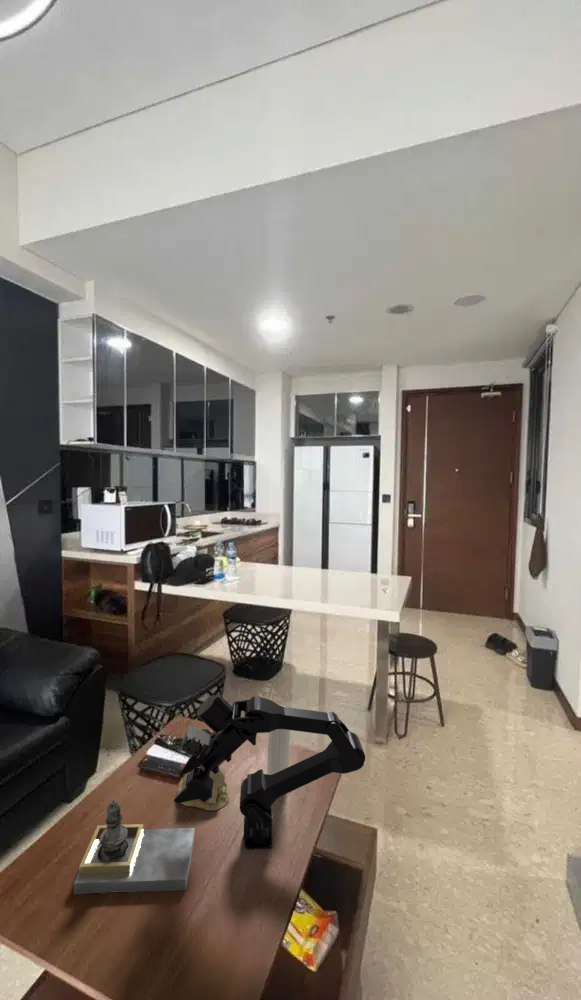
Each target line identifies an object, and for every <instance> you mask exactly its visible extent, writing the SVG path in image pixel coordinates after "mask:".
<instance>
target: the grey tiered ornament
mask: <svg viewBox="0 0 581 1000" xmlns="http://www.w3.org/2000/svg"><path fill="white" fill-rule="evenodd" d="M104 821H105V825H107V829H106V830H104V831H103V833H102V834H101V836H100V843H101V845H102V847H103V849H102V851H101V856H102V858H103V859H105V860H107V861H112V860H115V859H117V858H119V857H121V856H122V855H123V854H124V852H125V850H126V843H125V839H126V837H127V834H128V830H127V828H126V827H125V826H124V825H125V824H122V821H123V815H122V814H121V804H120V802H118V801H116V800H115V799H113V800H112V802H110V803H109V804H108V805H107V808H106V818H105V820H104Z"/></svg>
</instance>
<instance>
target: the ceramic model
mask: <svg viewBox="0 0 581 1000" xmlns="http://www.w3.org/2000/svg"><path fill="white" fill-rule="evenodd" d="M198 768H201V766H200V767H198ZM189 774H190V772H189V773H186V774H185V775H186V776H184V777H181V778H180V781H179V788H178V790H177V795H178V793H179V792H180V791H181V790H182V789H183V787H184V786H185V785H186V779H187V775H189ZM210 777H211V778H212V779H213V780H214V787H213V794H212V798H211V799H210V800H209V801H207V802H206V803H203V802H202V801H201V800H200V799H198V800H191V801H187V802H182V803H181V804H182V805H183V806H185V807H195V808H198V809H203V810H206V811H217V810H219V809H221V808H223V807H225V806H226V805H228V803H229V802H230V795H229V792H228V786H227V785H228V783H227V781H226V780H225V779H226V768H225V766H222V764H221V765H220V766H219V771H218V773H216V774H214V773H213V772H212V771H211V772H210Z"/></svg>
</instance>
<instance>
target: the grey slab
mask: <svg viewBox="0 0 581 1000" xmlns="http://www.w3.org/2000/svg"><path fill="white" fill-rule="evenodd" d="M123 825H124V826H125V827H126V828H127V830H128V834H127V837H126V839H125V843H126V850H125V852H124V854H123V855H122V856H121V857H119V858H117V859H115V860H112V861H107V860H105V859H103V858H102V856H101V851H102V849H103V847H102V845H101V843H100V836H101V834H102V833H103V831H104V830H106V829H107V825H106V824H100V825H99V824H97V826H96V829H95V830H94V833H93V835H92V837H91V839H90V841H89V844H88V846H87V848H86V851H85V852H84V855H83V857H82V860H81V862H80V864H79V867H78V873H77V875H76V877H75V880H74V882H73V895H90V894H89V893H101V894H103V893H102V892H113V891H114V892H116V891H117V892H128V893H146V892H147V891H148V892H147V893H149V892H150V891H152V892H153V891H154V892H174V891H176V892H177V891H178V892H179V891H186V890H187V885H188V880H189V879H188V878H189V872H190V868H191V862H192V856H193V850H194V845H195V838H196V832H195V831H196V828H195V827H181V828H180V827H177V828H144V823H137V824H136V823H135V824H133V823H132V824H130V823H129V824H123ZM137 891H138V892H137ZM140 891H141V892H140ZM143 891H144V892H143ZM145 891H146V892H145ZM152 892H151V893H152ZM87 893H88V894H87Z"/></svg>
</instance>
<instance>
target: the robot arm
mask: <svg viewBox="0 0 581 1000" xmlns="http://www.w3.org/2000/svg"><path fill="white" fill-rule="evenodd" d="M283 706H284V705H279V704H278V703H277V702H275V701H273V700H271V699H268V698H265V697H262V696H252V697H251V698H250V699H244V700H237V701H232V704H230V703H229V702H228V701H227V700H226V699H225V697H224V696H223V695H222V694H221V693H220V692H217V693H216V694H215V695H213V694H212V695H211V696H208V697H207V698H206V699H205V700H204V702H202V704H201V705H200V706H199V708H198V710H197V712H196V717H198V718H199V719H200V720H201V721H202V722H203V723H204V724H205V725H206V726H207V727H208V728H209V729H210V730H212V732H211V731H210V730H209V729H207V728H205V729H200V728H198V727H196V726H193V725H190V726H188V728H187V730H186V732H185V734H184V736H183V738H182V741H181V745H180V748H181V750H182V751H185V753H186V754H187V755H190V756H189V757H188V759H187V761H186V763H185V764H184V766H183V767H182V768H181V770H180V773H181V774H182V775H187V773H189V772H190V774H189V775H187V779H186V785H185V786H184V787H183V789H182V790H181V791H180V792H179V793H178V792H177V793H178V794H177V795H176V796H175V798H173V802H174V803H175V804H176V805H177V804H182V802H187V801H191V800H198V799H200V800H201V801H202V802H203V803H206V802H207V801H209V800H210V799H211V798H212V794H213V787H214V780H213V779H212V778H211V777H210V772H211V771H212V772H213V773H214V774H216V773H218V771H219V766H220V765H221V766H222V764H224V762H227V763H229V762H230V761H232V758H233V757H232V755H233V754H234V753H235V752H236V751H237V750H238V749H240V747H242V746H243V744H244V743H246V742H247V741H249V743H250V744H251V745H252V746H256V744H257V735H258V734H269V732H271V731H274V730H276V729H285V730H290V731H294V732H302V733H310V734H317V735H326V736H328V738H329V739H330V740H331V741H330V743H329V744H328V745H327V747H326V748H325V749H323V750H321V751H320V752H318V753H315V754H314V755H312V756H310V757H307V758H305V759H303V760H301V761H298V762H296V763H293V764H292V765H290V766H288V768H286V769H283V770H281V771H279V772H277V773H275V774H272V775H268V774H267V773H264V770H263V768H261V769H260V768H259V769H258V770H257V771H255V772H253V773H248V774H247V777H246V778H244V779H243V780H242V782H241V785H240V794H239V795H240V796H239V811H240V813H241V815H243V816H244V817H243V837H242V838H243V840H244V848H245V850H249V849H250V850H251V849H252V850H253V849H255V850H257V849H272V848H273V820H274V818H273V805H274V804H275V802H276V801H277V800H278V799H279V798H281V797H283V796H285V795H287V794H289V793H292V792H294V791H296V790H298V789H300V788H302V787H304V786H306V785H308V784H311V783H312V782H314V781H316V780H319V779H321V778H323V777H325V776H327V775H329V774H332V773H335V774H336V773H337V774H344V775H346V774H349V773H353V772H357V771H359V770H360V769H361V768H363V767H364V765H365V763H366V753H365V750H364V749H363V746H362V743H361V741H360V738H359V736H358V735H357V734H356V733H355V732H351V731H350V730H349V728H348V727H347V725H346V724H345V723H344V722H343V721H342V720H341V719H340V718H339V716H338V715H337V714H336V713H335V712H334V711H327V712H325V711H317V710H311V709H310V710H309V709H303V708H295V707H288V706H285V707H283ZM242 712H244V713H243V714H244V715H243V716H242ZM200 766H201V768H198V767H200Z"/></svg>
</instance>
